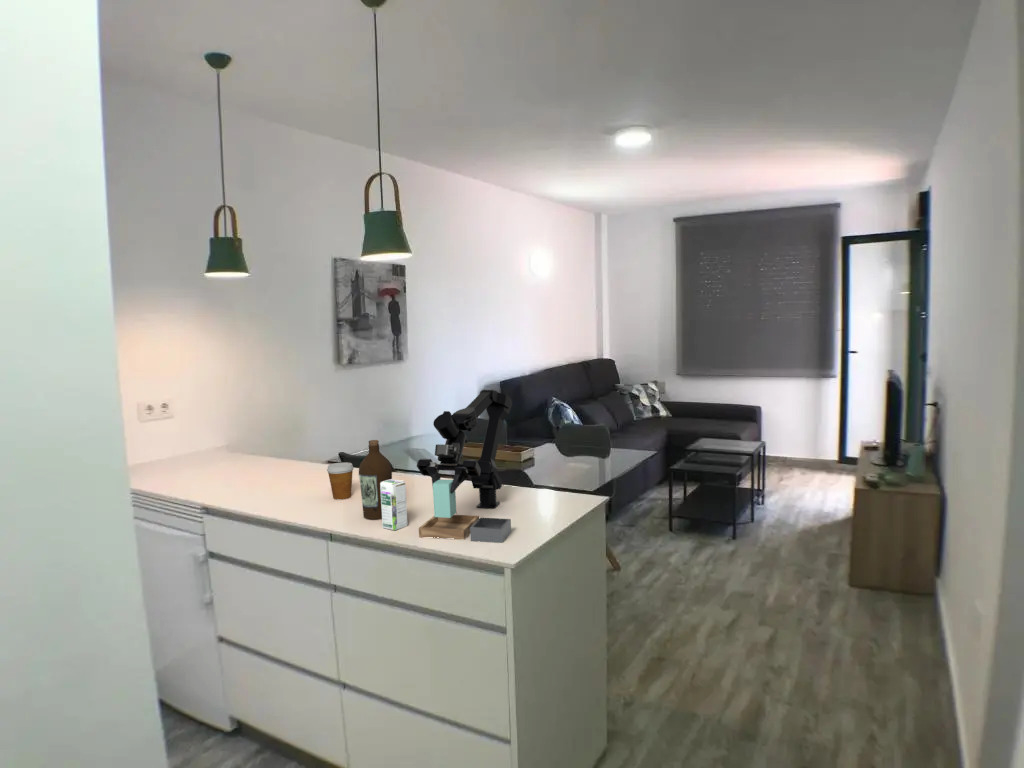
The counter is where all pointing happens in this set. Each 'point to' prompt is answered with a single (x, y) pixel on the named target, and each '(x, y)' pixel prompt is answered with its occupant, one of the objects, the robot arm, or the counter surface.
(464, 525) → the tray
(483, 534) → the holder
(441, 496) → the block
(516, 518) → the counter surface
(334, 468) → the disposable coffee cup
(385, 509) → the syrup box
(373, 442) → the olive oil
